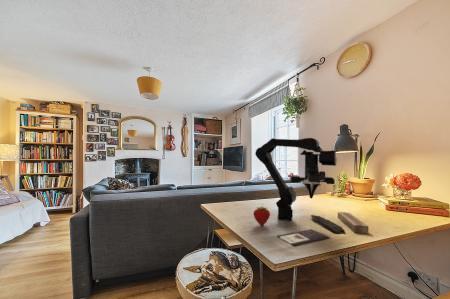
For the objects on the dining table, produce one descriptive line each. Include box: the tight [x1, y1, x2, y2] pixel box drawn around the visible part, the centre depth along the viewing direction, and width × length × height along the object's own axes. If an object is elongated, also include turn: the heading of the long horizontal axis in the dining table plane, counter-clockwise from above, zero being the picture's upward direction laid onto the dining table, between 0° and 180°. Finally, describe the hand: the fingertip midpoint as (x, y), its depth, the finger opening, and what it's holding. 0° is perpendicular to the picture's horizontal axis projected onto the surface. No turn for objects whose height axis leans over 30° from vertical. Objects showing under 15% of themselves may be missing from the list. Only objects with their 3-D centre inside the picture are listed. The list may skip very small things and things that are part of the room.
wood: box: [310, 214, 346, 235], centre depth 95 cm, size 22×7×3 cm, turn 7°
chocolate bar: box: [276, 228, 331, 247], centre depth 80 cm, size 9×1×18 cm
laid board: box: [337, 211, 369, 234], centre depth 95 cm, size 6×20×3 cm, turn 168°
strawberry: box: [253, 203, 271, 227], centre depth 92 cm, size 6×8×10 cm
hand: (311, 198), depth 96 cm, fingers closed
